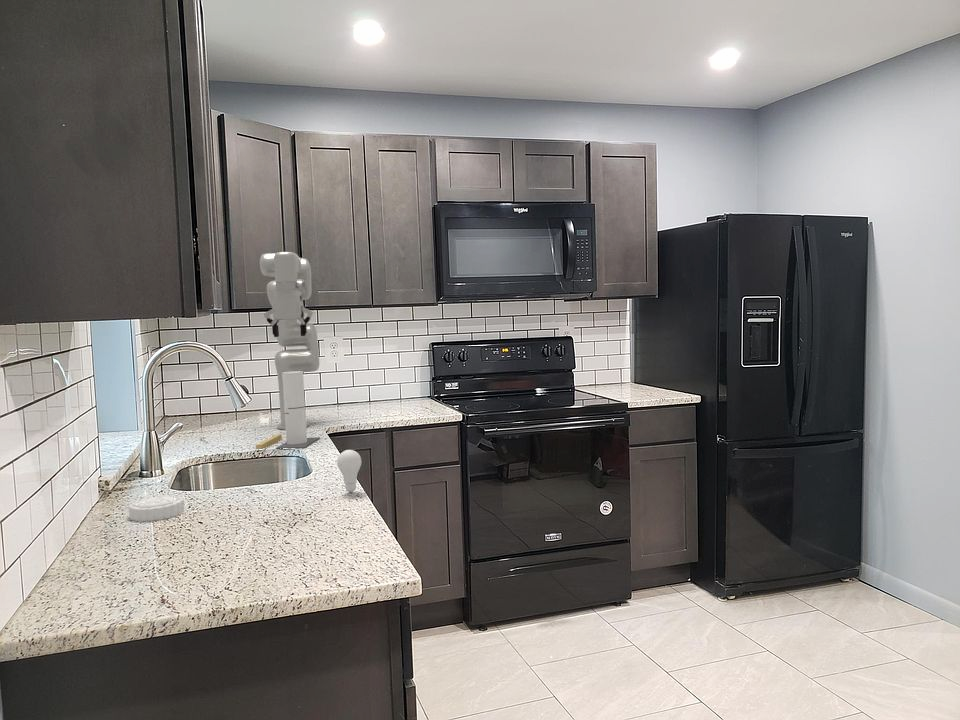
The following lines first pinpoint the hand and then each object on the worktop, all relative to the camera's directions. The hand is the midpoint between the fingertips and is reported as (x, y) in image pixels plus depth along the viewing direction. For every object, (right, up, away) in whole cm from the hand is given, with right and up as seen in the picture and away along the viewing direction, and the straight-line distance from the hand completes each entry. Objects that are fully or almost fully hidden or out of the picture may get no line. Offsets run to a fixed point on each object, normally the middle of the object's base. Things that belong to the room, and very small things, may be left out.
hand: (289, 336), depth 256 cm
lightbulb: (+34, -42, -71) cm, 90 cm away
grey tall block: (+2, -38, +1) cm, 38 cm away
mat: (+3, -38, +1) cm, 38 cm away
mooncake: (-10, -45, -83) cm, 95 cm away
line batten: (-8, -39, +2) cm, 39 cm away
